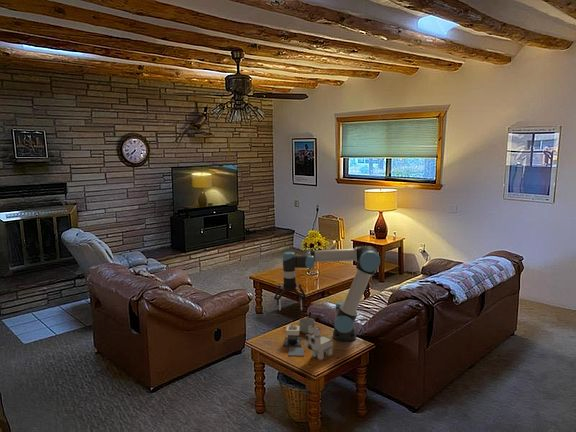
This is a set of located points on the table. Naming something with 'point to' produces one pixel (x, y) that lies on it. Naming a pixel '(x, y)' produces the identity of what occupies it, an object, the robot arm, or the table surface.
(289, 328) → the cream ring
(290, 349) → the slate mat
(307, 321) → the teacup
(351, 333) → the robot arm
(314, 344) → the toy llama
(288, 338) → the ring stand
